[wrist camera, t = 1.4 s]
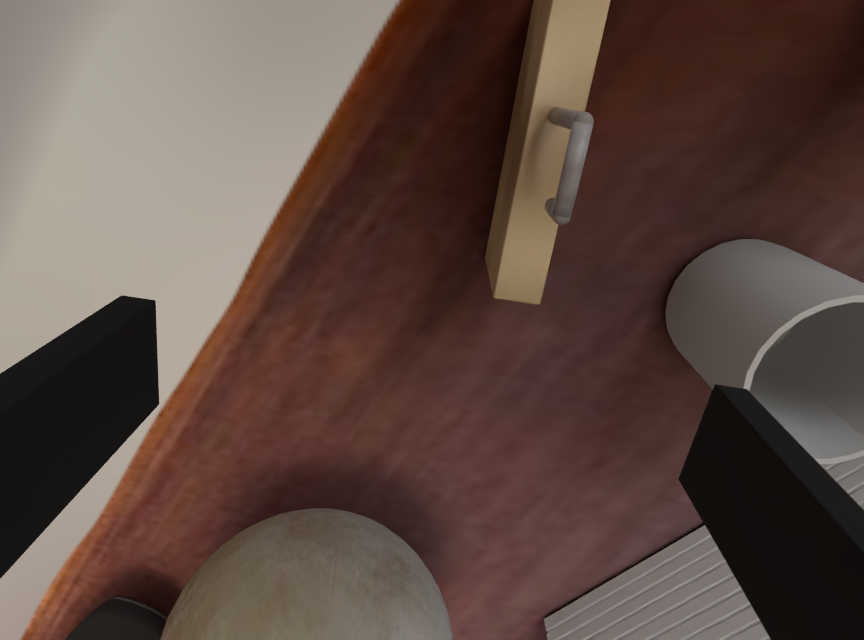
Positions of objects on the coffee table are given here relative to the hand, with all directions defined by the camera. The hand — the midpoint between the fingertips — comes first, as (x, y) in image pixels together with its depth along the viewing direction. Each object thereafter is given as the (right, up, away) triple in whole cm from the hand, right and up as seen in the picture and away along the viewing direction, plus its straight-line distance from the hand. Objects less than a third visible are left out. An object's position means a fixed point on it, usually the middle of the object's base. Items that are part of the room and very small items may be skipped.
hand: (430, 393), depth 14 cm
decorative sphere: (-6, -13, +24) cm, 28 cm away
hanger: (+5, +10, +14) cm, 18 cm away
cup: (+17, +3, +17) cm, 24 cm away
